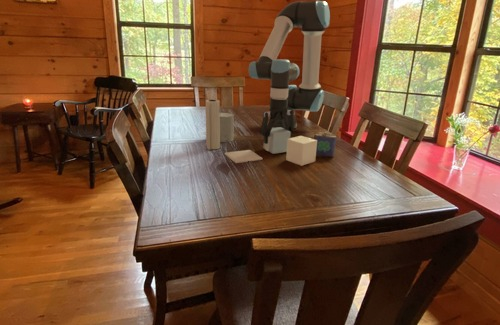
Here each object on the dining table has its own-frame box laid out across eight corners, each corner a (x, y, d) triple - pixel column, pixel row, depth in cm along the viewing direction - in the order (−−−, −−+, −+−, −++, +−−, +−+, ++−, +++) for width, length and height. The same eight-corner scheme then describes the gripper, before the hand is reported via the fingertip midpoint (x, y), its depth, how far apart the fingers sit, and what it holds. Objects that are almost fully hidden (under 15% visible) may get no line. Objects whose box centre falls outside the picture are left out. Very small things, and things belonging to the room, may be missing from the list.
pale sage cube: (279, 146, 152) (280, 127, 149) (289, 151, 145) (290, 131, 142) (263, 148, 148) (264, 128, 145) (272, 153, 141) (273, 133, 138)
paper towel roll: (214, 145, 152) (213, 98, 145) (222, 148, 148) (222, 100, 141) (201, 148, 148) (200, 100, 140) (209, 151, 144) (209, 102, 136)
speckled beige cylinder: (230, 143, 156) (231, 117, 152) (211, 141, 158) (211, 116, 154) (235, 137, 165) (236, 113, 161) (217, 136, 167) (217, 112, 162)
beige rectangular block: (299, 156, 141) (301, 135, 138) (315, 161, 135) (317, 140, 132) (286, 159, 136) (287, 138, 132) (301, 165, 130) (303, 143, 127)
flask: (334, 155, 142) (337, 131, 139) (333, 157, 140) (336, 133, 136) (312, 153, 145) (314, 129, 141) (311, 155, 142) (314, 131, 138)
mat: (249, 151, 145) (249, 149, 145) (262, 159, 135) (262, 158, 135) (224, 154, 140) (224, 152, 140) (235, 163, 130) (235, 161, 130)
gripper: (295, 95, 146) (291, 144, 154) (252, 97, 137) (251, 149, 145) (305, 98, 140) (300, 148, 148) (260, 100, 131) (259, 154, 139)
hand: (276, 149), depth 147 cm, fingers closed on pale sage cube, 8 cm apart
